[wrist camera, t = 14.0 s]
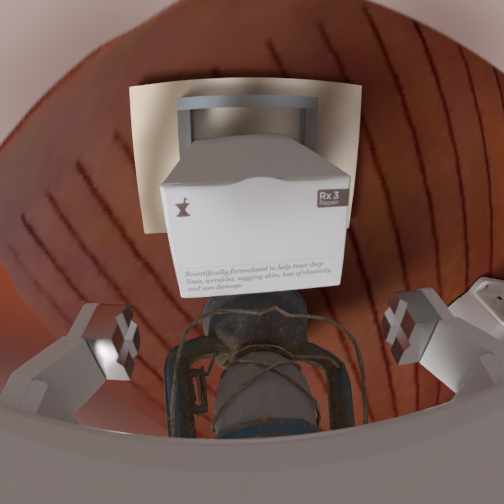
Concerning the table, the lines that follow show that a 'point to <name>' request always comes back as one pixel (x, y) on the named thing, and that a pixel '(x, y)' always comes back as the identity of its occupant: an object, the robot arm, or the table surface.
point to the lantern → (256, 370)
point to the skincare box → (255, 216)
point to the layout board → (237, 124)
